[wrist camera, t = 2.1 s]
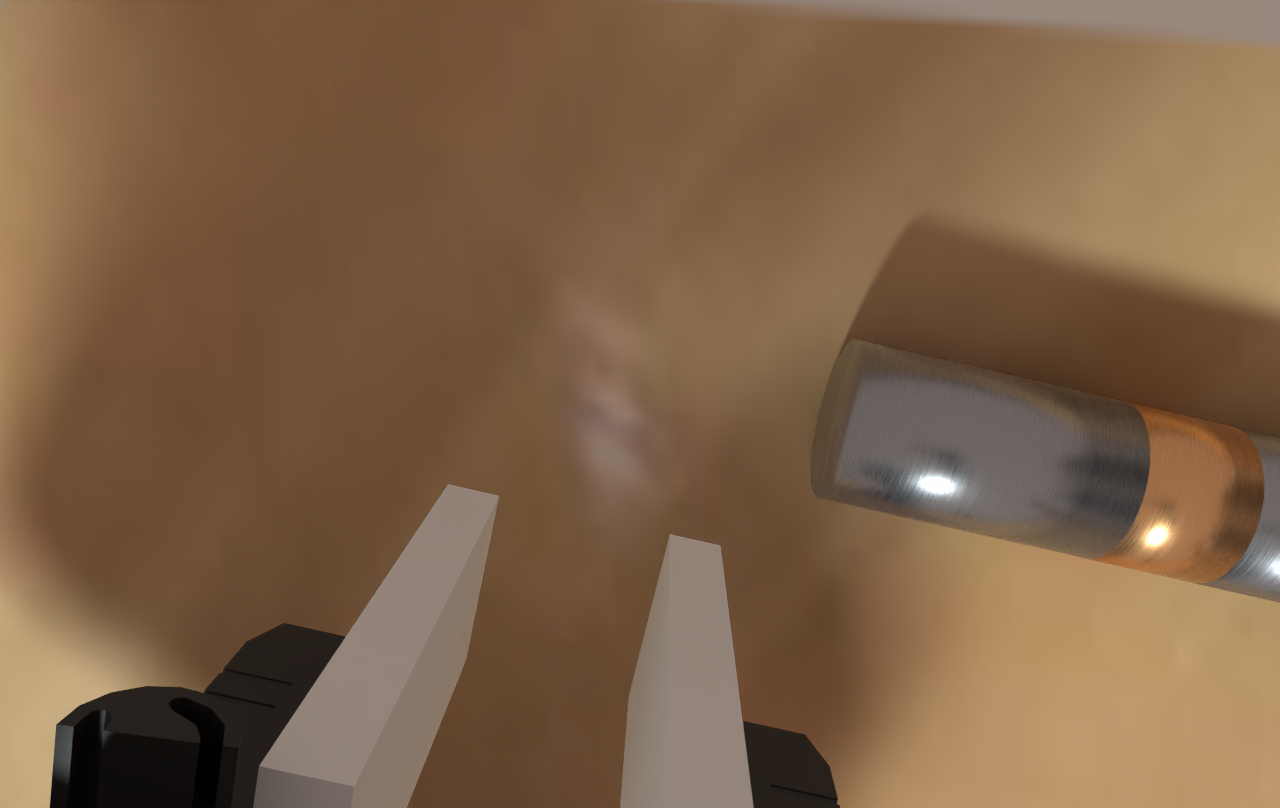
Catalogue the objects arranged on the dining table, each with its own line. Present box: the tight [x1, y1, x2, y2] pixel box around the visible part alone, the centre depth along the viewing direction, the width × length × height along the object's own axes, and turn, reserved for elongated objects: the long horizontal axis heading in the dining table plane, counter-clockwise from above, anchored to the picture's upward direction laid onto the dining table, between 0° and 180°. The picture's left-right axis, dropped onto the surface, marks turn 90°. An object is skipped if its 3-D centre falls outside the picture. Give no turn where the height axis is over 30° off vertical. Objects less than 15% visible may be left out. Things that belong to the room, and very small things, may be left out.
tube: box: [811, 339, 1280, 603], centre depth 26 cm, size 18×4×4 cm, turn 77°
